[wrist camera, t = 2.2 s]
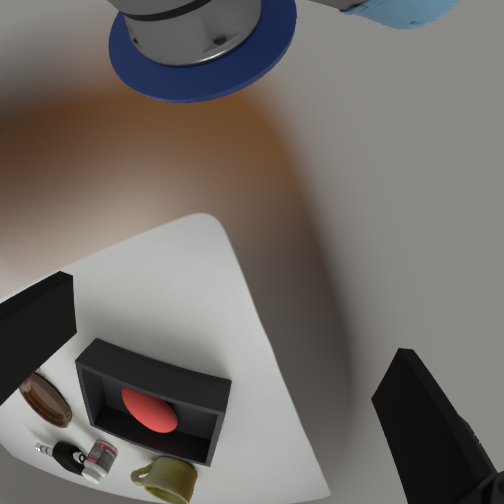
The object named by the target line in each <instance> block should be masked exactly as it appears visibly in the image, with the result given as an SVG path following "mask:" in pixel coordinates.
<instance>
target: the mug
mask: <svg viewBox="0 0 504 504" xmlns="http://www.w3.org/2000/svg"><path fill="white" fill-rule="evenodd" d="M146 473H148V475H146V476H145V477H143V478H139V477H138V476H139V475H142V474H146ZM131 480H132V482H133V483H134V484H136V485H138V486H144V488H145V490H146V491H147V492H149V493H150V494H151V495H153V496H154V497H156V498H158V499H160V500H162V501H165V502H167V503H170V504H189V502H190V499H191V497H192V494H193V490H194V485H195V482H196V480H197V472H196V471H195V469H194V468H192V467H191V466H189V465H188V464H187V463H186V462H184V461H182V460H178V459H174V458H170V457H161V458H158V459H157V460H156V461H154V462H152V463H151V464H149V465H148V466H146V467H143V468H140V469H138V470H135V471H133V472H132V474H131Z"/></svg>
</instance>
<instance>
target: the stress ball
mask: <svg viewBox="0 0 504 504" xmlns="http://www.w3.org/2000/svg"><path fill="white" fill-rule="evenodd" d="M122 398H123V401H124V403H125V405H126V407H127V409H128V410H129V411H130V413H131V414H132V415H133V416H134V417H135V418H136V419H137V420H139V421H140V422H141V423H142V424H144V425H145V426H146V427H148V428H150V429H151V430H154V431H157V432H162V433H167V432H170V431H172V430H174V429H175V428H176V426H177V422H178V421H177V416H176V414H175V412H174V410H173V409H172V408H171V407H170V406H169V405H168V404H167V403H166V402H165V401H164V400H162V399H159V398H156V397H153V396H150V395H147V394H145V393H142V392H139V391H136V390H134V389H131V388H128V387H126V386H124V387H123V389H122Z"/></svg>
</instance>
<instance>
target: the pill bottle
mask: <svg viewBox="0 0 504 504" xmlns="http://www.w3.org/2000/svg"><path fill="white" fill-rule="evenodd" d="M116 456H117V451H116V449H115V448H114V447H112V446H111V445H110V444H108V443H106V442H104V441H100V440H98V441H96V442H95V444H94V446H93V448H92V449H91V451H90V453H89V454H88V456H87V458H86V459H85V461H84V466H85V467H86V468H85V469H83V471H82V475H83V476H84V477H85V478H87V479H88V480H90V481H92V482H94V483H97V484H99V482H100V481H101V477H106V476H107V474H108V472H109V470H110V468H111V466H112V464H113V462H114V460H115V458H116Z"/></svg>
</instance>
